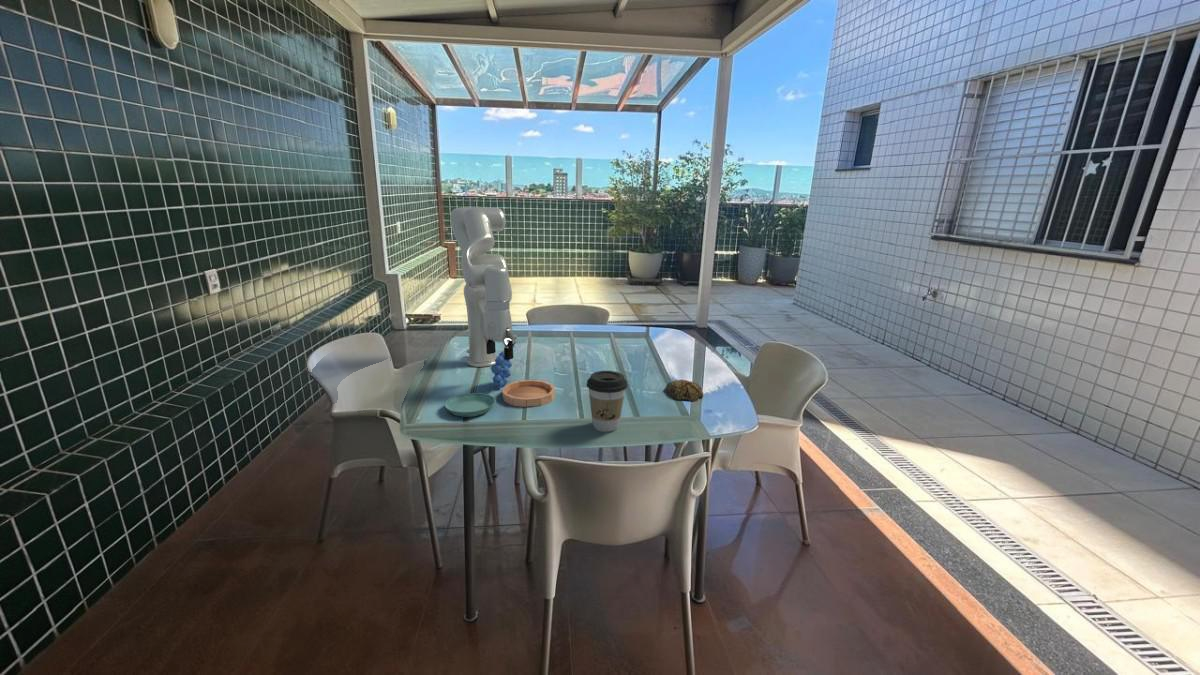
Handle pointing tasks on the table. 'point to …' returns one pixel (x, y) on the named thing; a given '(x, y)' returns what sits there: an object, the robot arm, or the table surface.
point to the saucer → (470, 404)
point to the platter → (528, 393)
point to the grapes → (501, 370)
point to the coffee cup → (606, 399)
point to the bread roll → (684, 390)
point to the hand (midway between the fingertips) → (499, 356)
